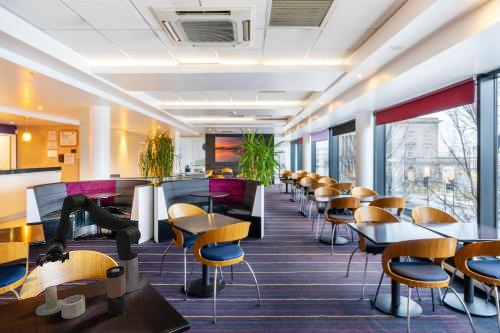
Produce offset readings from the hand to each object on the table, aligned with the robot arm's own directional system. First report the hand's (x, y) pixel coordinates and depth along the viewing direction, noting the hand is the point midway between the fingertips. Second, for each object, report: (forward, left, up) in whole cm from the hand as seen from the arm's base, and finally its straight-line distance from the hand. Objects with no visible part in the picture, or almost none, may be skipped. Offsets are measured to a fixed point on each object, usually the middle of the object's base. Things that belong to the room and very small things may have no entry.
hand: (52, 263), depth 138 cm
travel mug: (-26, +31, -18) cm, 45 cm away
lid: (0, +11, -18) cm, 21 cm away
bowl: (-9, +21, -18) cm, 29 cm away
